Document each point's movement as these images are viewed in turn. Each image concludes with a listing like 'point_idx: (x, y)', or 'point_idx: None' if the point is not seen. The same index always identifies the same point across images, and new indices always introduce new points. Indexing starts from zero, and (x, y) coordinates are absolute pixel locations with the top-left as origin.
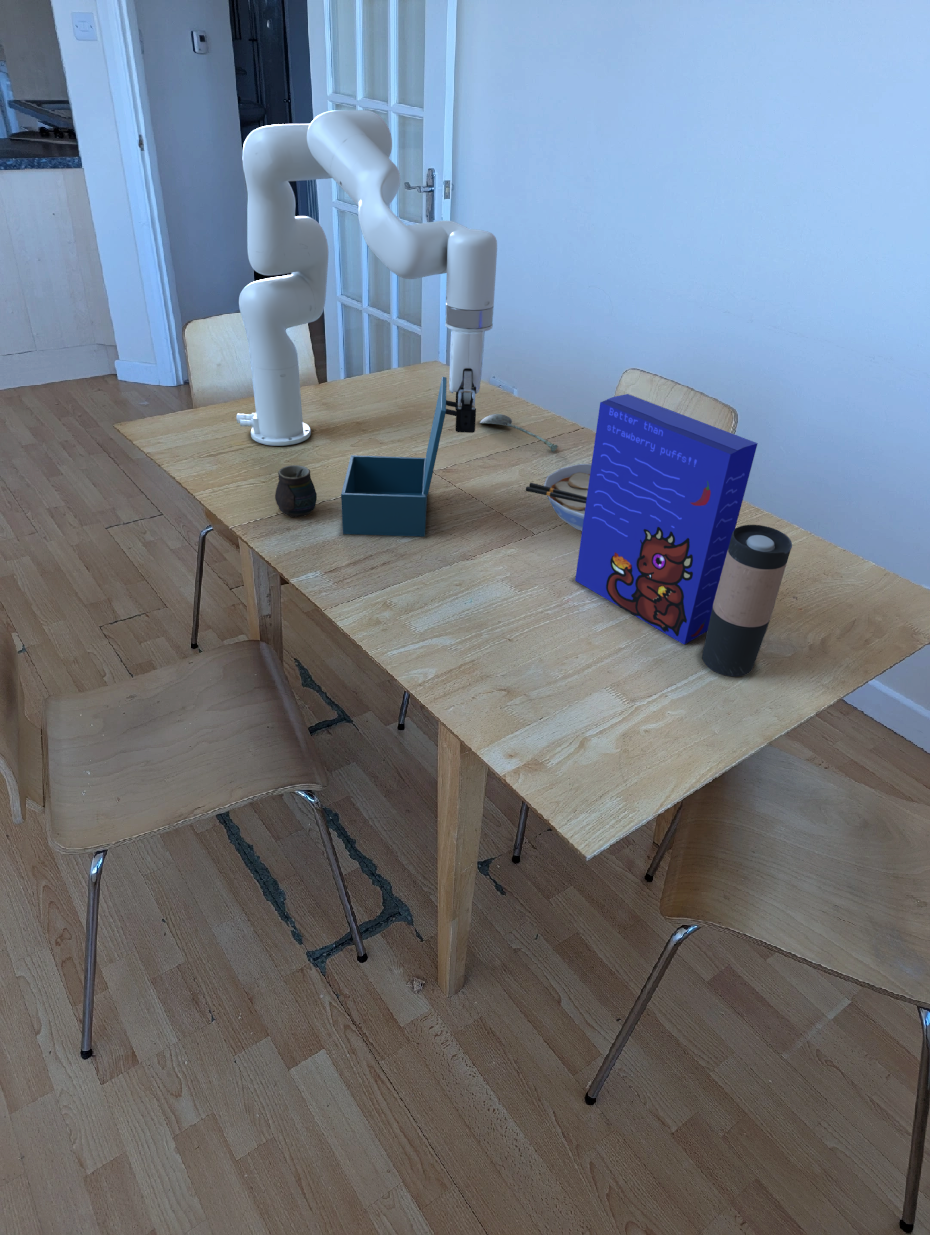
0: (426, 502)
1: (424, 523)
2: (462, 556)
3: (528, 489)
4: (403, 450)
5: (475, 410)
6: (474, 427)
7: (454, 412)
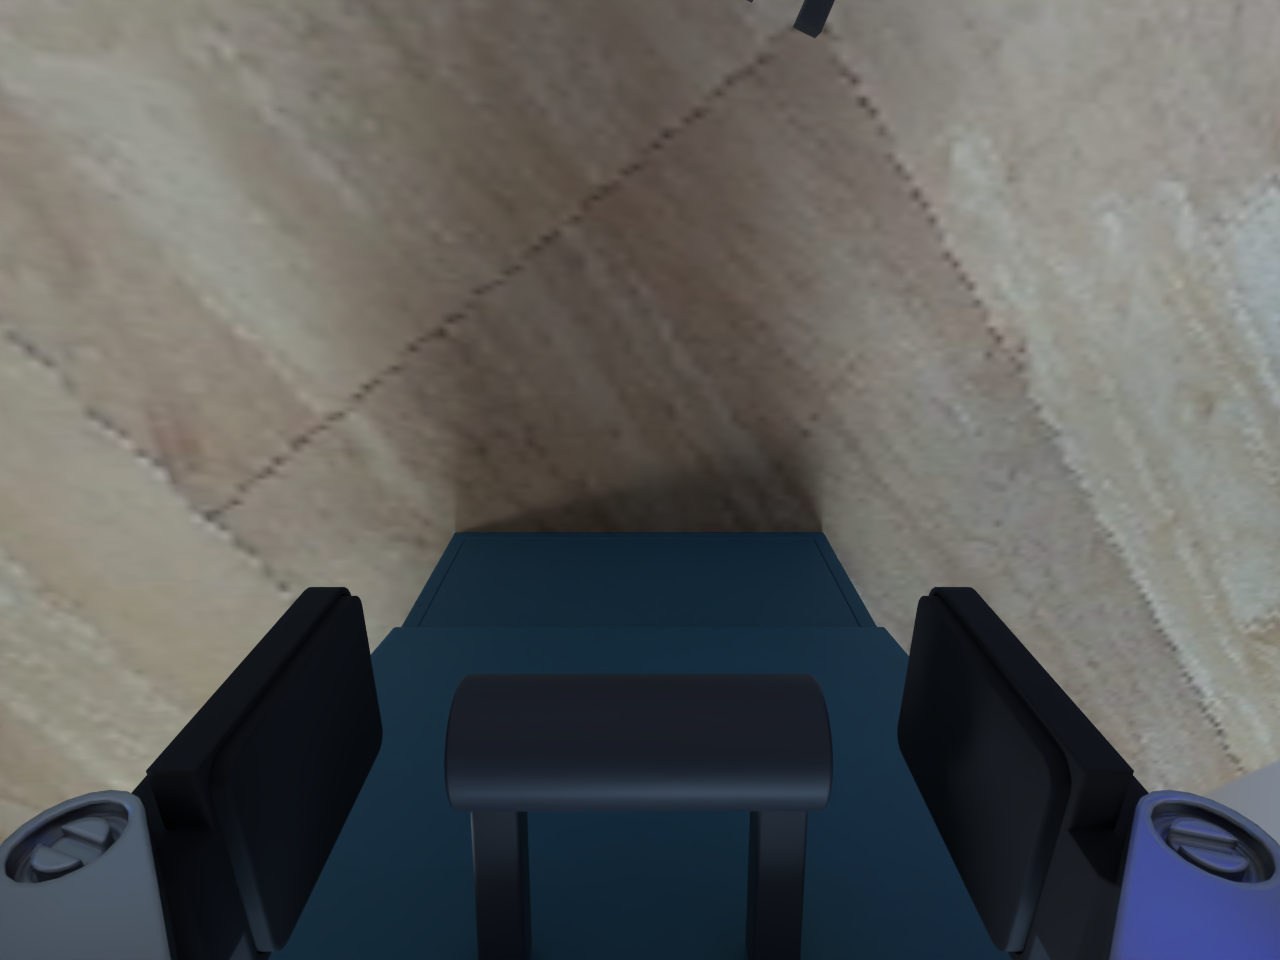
0: (629, 556)
1: (837, 562)
2: (992, 387)
3: (828, 12)
4: (25, 639)
5: (1123, 765)
6: (988, 615)
7: (803, 870)
